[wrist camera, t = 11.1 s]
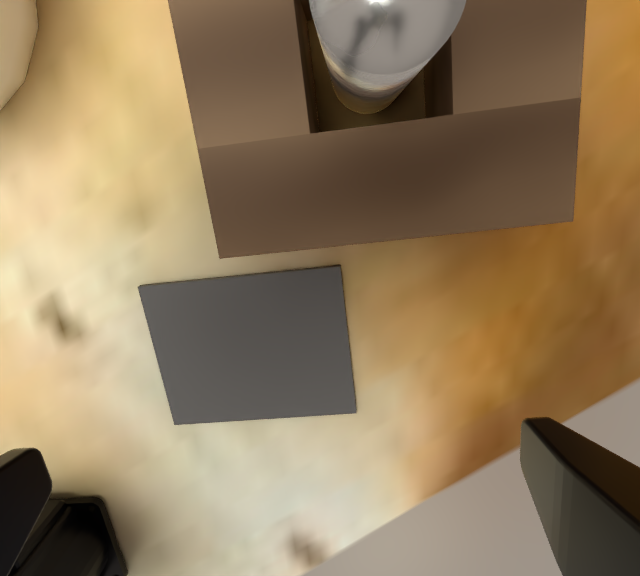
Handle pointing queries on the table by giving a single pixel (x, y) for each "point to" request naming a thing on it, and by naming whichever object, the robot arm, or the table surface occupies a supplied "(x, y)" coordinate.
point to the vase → (15, 44)
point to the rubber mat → (252, 345)
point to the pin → (380, 45)
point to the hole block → (382, 129)
